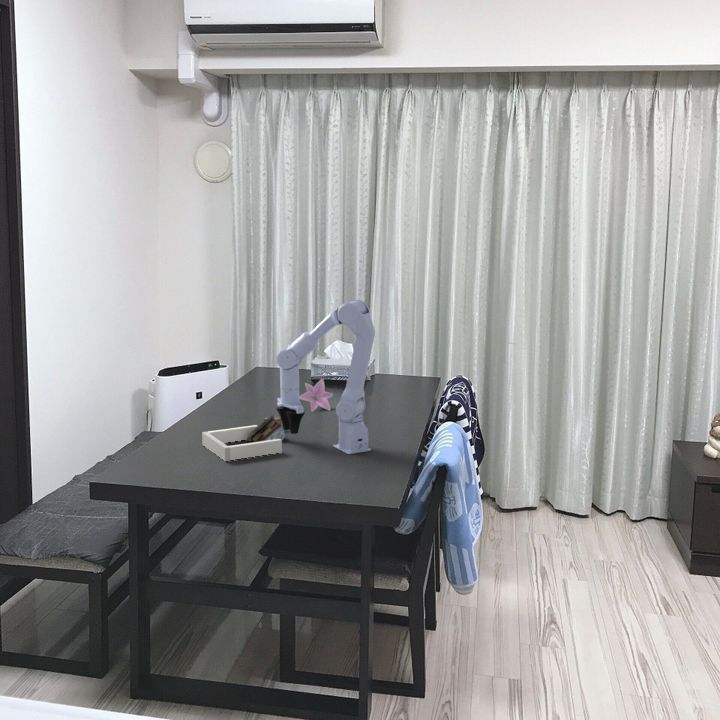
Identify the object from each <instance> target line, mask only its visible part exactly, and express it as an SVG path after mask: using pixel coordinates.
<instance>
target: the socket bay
mask: <svg viewBox="0 0 720 720" xmlns="http://www.w3.org/2000/svg"><path fill="white" fill-rule="evenodd" d="M258 426H259V425H257V424H253V425H248V426H238V427H231V428H226V429H225V428H224V429H223V428H222V429H216V430H208V431H202V432H201V435H202V436H201V438H202V439H201V441H202V443H201V445H202V446H203V447H204V446H205V448H206V450H208V449H209V450H208V451H210V452H211V453H212V454H214V453H215V454H216V455H215V454H214V455H215V456H217V457H218V456H219V457H220V458H219V457H218V458H219V459H221V460H222V459H223V460H224V461H223V460H222V461H223V462H225V461H228V462H231V461H230V460H234V461H236V460H235V459H241V458H247V459H249V458H248V457H254V458H256V457H255V456H260V457H263V456H262V455H267V456H269V455H268V454H273V455H277V454H276V453H279V454H283V440H281V439H274V440H267V441H260V442H256V441H252V442H248V443H247V442H246V443H241V444H235V445H234V444H233V445H227V444H229V443H228V442H231V443H236V442H235V441H238V442H242V441H241V440H245V441H247V437H248V435H249V433H251V432H252V431H254V430H255V429H256V428H257V427H258ZM241 460H242V459H241Z"/></svg>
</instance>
